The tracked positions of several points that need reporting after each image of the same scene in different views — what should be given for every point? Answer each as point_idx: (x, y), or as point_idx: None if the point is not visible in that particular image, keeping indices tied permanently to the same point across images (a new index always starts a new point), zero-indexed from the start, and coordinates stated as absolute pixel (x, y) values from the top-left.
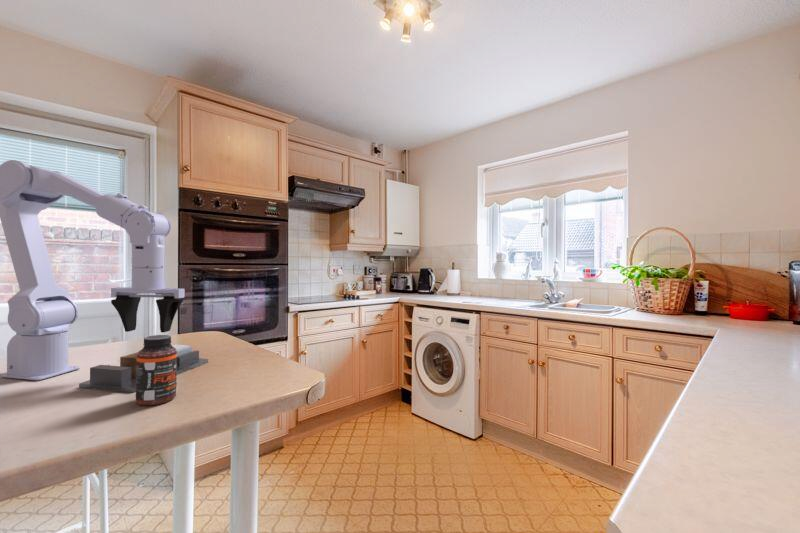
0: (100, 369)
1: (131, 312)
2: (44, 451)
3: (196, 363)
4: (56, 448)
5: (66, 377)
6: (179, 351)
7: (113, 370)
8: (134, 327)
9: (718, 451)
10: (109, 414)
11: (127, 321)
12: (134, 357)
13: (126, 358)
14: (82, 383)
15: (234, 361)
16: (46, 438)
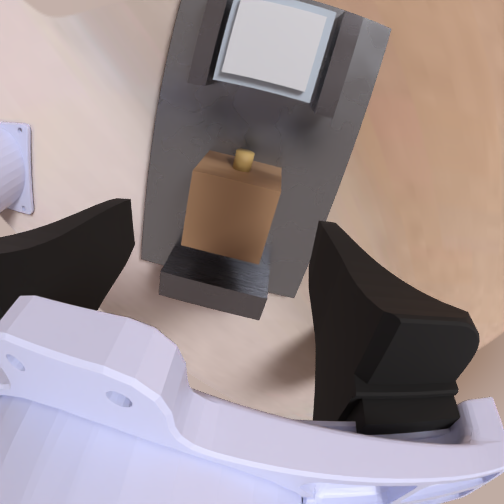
0: (192, 302)
1: (79, 277)
2: (296, 416)
3: (373, 84)
4: (303, 414)
5: (56, 183)
6: (315, 81)
7: (233, 312)
8: (124, 210)
9: None
10: (310, 364)
11: (111, 277)
12: (232, 251)
13: (206, 249)
14: (148, 259)
15: (468, 42)
16: (275, 402)
